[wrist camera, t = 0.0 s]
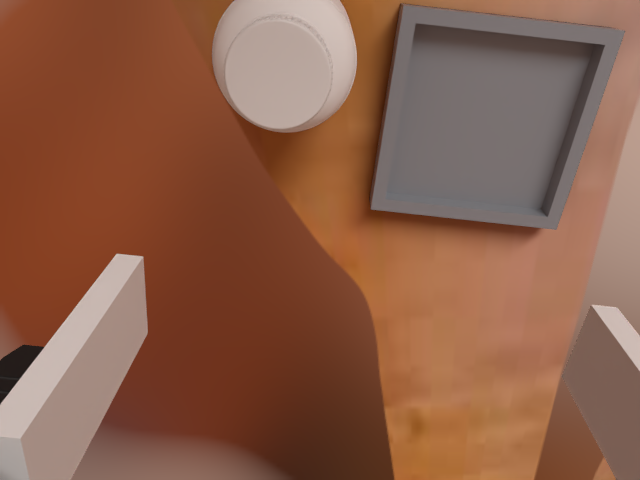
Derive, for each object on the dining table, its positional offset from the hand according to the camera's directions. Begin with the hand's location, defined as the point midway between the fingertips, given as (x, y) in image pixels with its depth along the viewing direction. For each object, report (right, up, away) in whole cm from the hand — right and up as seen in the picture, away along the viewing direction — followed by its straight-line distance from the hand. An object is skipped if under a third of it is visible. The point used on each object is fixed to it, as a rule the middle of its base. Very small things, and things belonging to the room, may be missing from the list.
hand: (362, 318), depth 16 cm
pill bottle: (-3, +17, +23) cm, 29 cm away
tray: (+11, +11, +25) cm, 30 cm away
